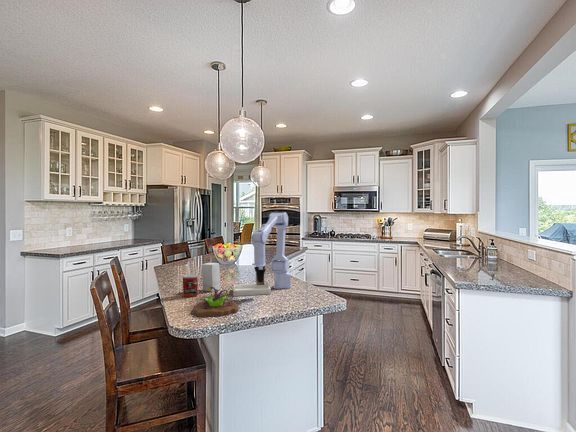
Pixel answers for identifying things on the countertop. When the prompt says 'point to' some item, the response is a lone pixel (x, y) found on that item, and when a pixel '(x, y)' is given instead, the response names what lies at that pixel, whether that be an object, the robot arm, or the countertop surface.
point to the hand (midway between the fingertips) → (260, 281)
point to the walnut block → (259, 282)
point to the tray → (251, 289)
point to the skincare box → (210, 276)
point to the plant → (215, 306)
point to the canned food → (190, 285)
